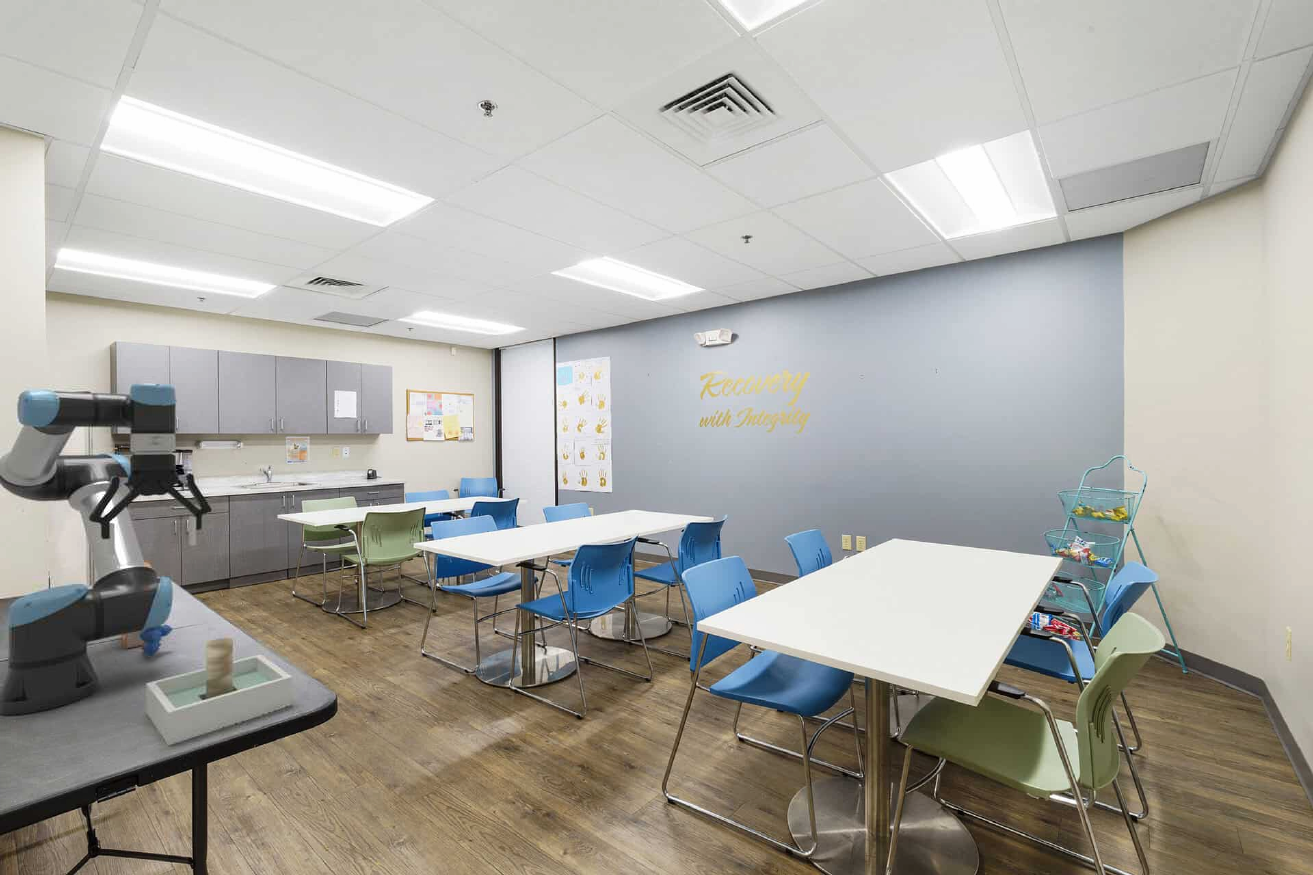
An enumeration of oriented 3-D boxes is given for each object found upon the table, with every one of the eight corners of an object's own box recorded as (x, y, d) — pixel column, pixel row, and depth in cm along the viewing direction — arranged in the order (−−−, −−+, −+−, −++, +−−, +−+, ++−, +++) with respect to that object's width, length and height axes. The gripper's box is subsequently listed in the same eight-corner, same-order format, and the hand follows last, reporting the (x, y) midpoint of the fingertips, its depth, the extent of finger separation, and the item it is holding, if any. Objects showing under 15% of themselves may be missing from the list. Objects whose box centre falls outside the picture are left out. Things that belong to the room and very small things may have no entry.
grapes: (176, 656, 146) (176, 610, 147) (141, 664, 141) (141, 616, 142) (169, 646, 154) (169, 601, 154) (135, 652, 149) (135, 607, 149)
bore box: (168, 745, 104) (168, 712, 104) (146, 712, 116) (146, 683, 116) (292, 705, 119) (292, 676, 119) (260, 680, 132) (260, 654, 132)
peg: (209, 716, 115) (209, 646, 115) (203, 709, 117) (203, 642, 117) (235, 708, 118) (235, 640, 118) (229, 702, 121) (229, 636, 121)
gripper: (75, 455, 114) (75, 560, 114) (227, 452, 133) (227, 542, 133) (70, 454, 119) (71, 556, 118) (217, 452, 138) (218, 539, 138)
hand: (153, 549), depth 126 cm, fingers open, 13 cm apart
